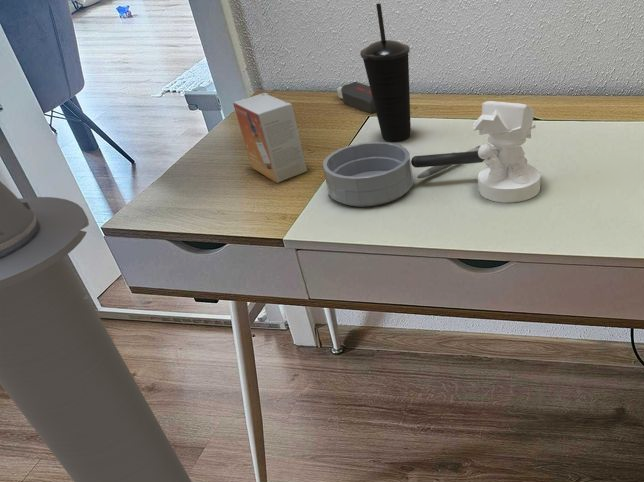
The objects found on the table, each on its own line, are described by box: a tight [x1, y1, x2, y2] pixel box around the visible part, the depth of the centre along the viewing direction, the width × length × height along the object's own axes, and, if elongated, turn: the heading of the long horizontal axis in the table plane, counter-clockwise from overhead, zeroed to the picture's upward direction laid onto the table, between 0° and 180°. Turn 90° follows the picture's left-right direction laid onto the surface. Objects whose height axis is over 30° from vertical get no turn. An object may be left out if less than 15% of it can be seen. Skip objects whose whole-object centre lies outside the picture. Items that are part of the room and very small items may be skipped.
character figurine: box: [472, 100, 541, 204], centre depth 85 cm, size 9×10×12 cm
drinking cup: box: [359, 2, 412, 143], centre depth 99 cm, size 8×8×20 cm
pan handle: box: [410, 151, 485, 169], centre depth 89 cm, size 11×2×2 cm, turn 93°
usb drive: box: [336, 81, 376, 114], centre depth 118 cm, size 5×12×3 cm, turn 43°
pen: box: [416, 144, 482, 180], centre depth 94 cm, size 1×14×1 cm, turn 135°
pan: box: [322, 141, 414, 208], centre depth 89 cm, size 12×12×4 cm
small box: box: [232, 92, 308, 184], centre depth 94 cm, size 8×6×10 cm
